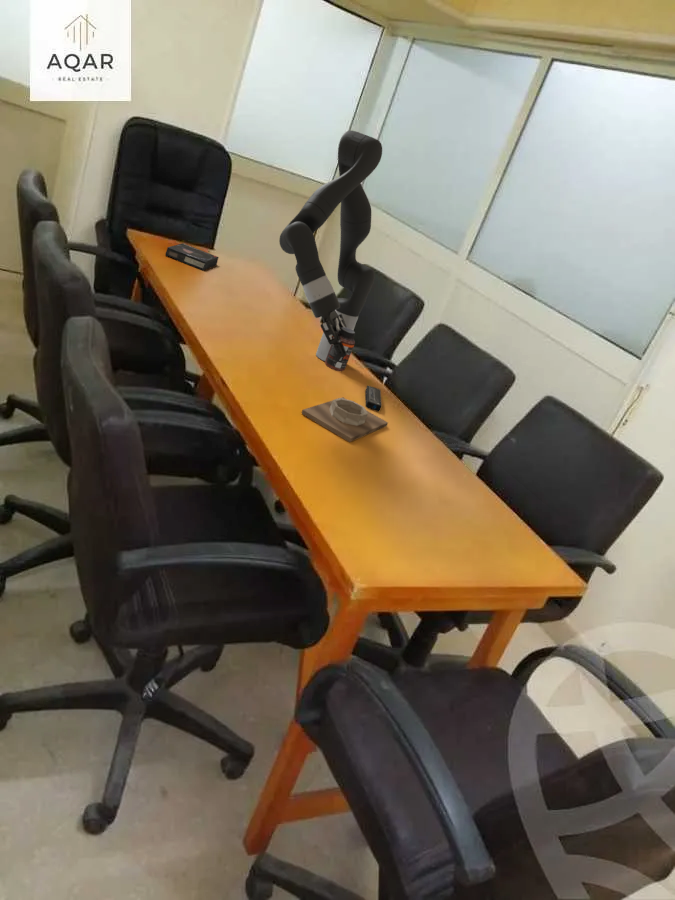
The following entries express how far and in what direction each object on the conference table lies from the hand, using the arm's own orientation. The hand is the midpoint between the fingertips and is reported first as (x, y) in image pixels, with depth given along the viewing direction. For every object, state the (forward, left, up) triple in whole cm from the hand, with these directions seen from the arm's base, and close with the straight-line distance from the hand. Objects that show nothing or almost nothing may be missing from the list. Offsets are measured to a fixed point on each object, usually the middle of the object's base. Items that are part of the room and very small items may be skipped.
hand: (346, 353), depth 188 cm
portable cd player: (-62, -110, -17) cm, 127 cm away
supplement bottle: (+1, -2, -5) cm, 5 cm away
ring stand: (+2, +8, -16) cm, 18 cm away
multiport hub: (-21, +4, -17) cm, 27 cm away
